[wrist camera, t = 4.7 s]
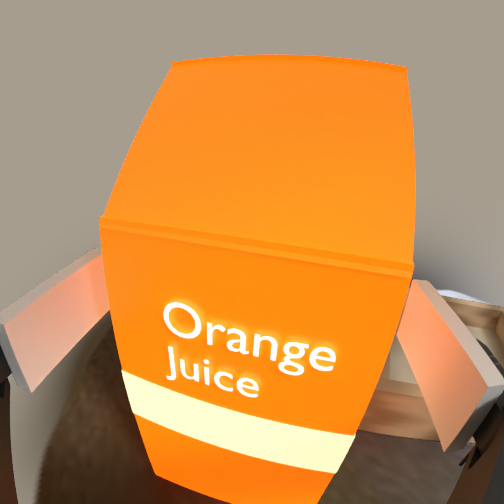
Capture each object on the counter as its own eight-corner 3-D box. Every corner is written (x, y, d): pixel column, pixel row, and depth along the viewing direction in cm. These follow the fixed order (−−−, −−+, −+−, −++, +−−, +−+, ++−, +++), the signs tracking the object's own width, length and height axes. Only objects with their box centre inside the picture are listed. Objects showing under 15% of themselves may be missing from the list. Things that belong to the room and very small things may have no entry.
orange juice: (306, 523, 11) (438, 26, 4) (152, 475, 13) (100, 41, 7) (328, 424, 18) (394, 89, 11) (206, 394, 20) (210, 79, 14)
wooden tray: (492, 334, 27) (504, 304, 26) (535, 448, 11) (563, 412, 10) (370, 312, 33) (378, 280, 31) (351, 437, 17) (368, 397, 16)
